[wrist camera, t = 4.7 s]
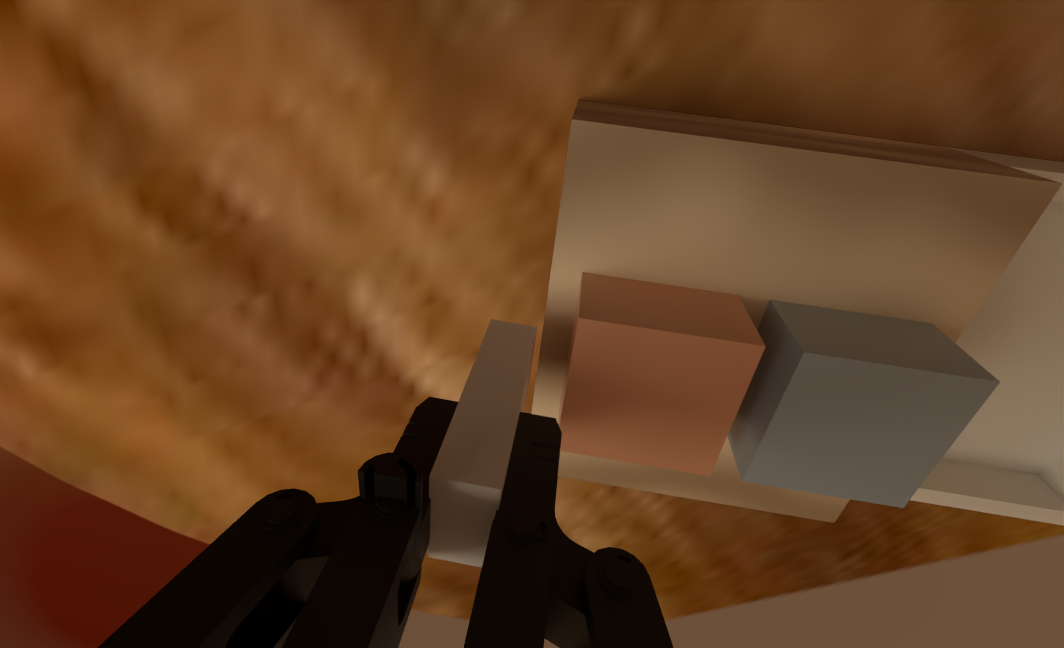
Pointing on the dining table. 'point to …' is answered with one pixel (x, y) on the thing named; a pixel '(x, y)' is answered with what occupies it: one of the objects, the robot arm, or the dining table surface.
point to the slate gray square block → (853, 403)
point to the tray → (1015, 380)
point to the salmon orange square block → (655, 372)
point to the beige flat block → (772, 243)
